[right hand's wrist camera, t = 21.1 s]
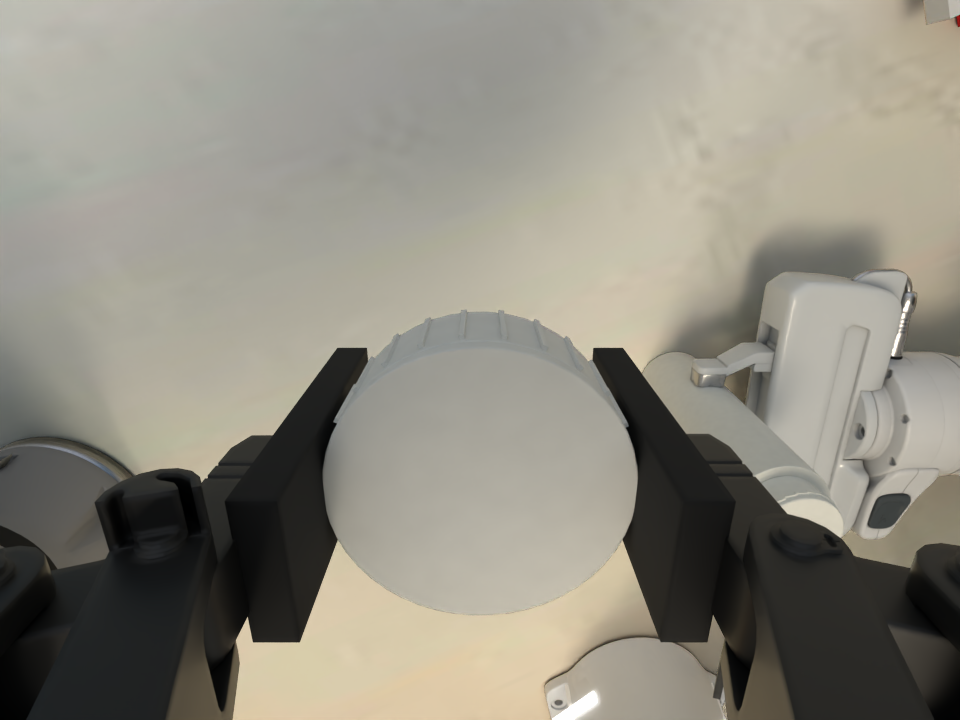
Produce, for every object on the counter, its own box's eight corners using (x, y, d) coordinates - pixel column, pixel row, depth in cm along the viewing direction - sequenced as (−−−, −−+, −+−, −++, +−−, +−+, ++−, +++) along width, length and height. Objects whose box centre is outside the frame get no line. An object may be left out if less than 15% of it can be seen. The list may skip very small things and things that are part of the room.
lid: (292, 450, 12) (254, 510, 10) (463, 246, 11) (459, 268, 8) (493, 585, 14) (494, 662, 11) (670, 423, 12) (711, 480, 10)
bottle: (717, 367, 43) (879, 513, 26) (681, 420, 45) (810, 590, 27) (661, 341, 43) (789, 472, 25) (627, 396, 44) (723, 555, 27)
